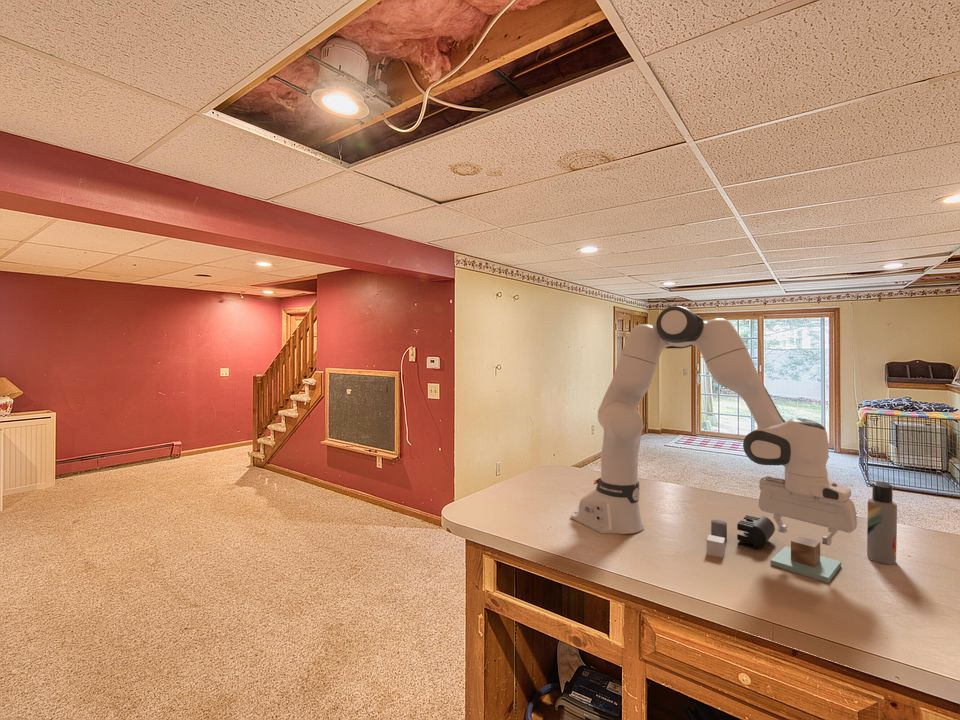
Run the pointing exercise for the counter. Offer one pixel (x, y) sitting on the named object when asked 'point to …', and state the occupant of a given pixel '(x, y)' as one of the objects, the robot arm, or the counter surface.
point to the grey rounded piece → (719, 529)
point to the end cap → (755, 531)
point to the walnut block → (805, 551)
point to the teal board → (820, 571)
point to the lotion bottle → (882, 525)
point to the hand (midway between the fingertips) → (803, 537)
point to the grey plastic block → (715, 546)
